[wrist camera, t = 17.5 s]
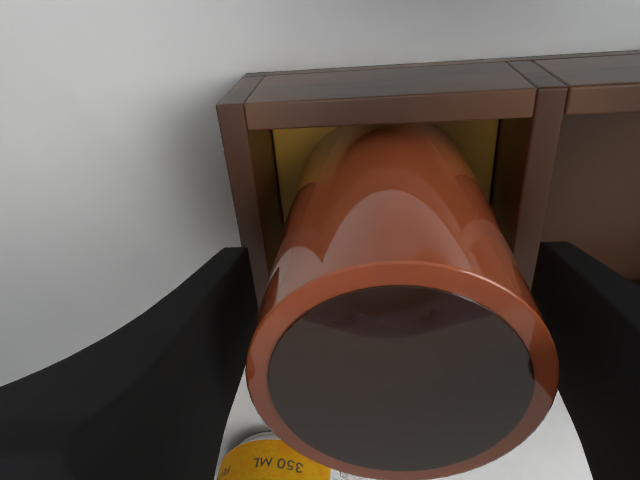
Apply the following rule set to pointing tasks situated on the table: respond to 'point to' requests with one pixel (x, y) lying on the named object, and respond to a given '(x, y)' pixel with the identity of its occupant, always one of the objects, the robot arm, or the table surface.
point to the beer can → (270, 462)
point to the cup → (398, 314)
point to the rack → (471, 135)
